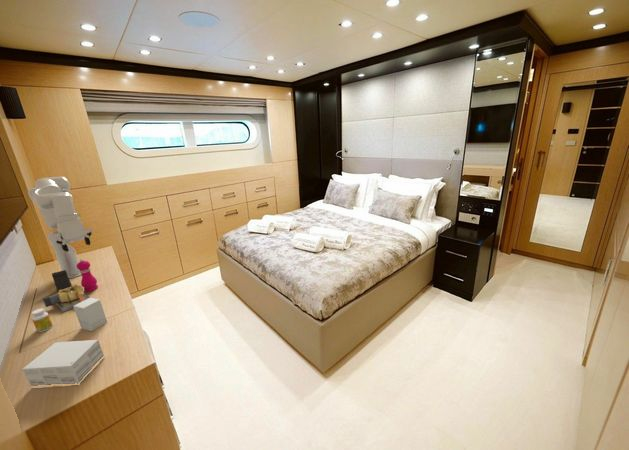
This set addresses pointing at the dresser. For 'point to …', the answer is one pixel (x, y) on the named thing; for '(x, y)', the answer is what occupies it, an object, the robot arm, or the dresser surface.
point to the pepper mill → (87, 276)
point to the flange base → (71, 302)
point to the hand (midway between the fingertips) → (77, 247)
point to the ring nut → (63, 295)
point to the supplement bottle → (41, 320)
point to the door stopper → (61, 280)
